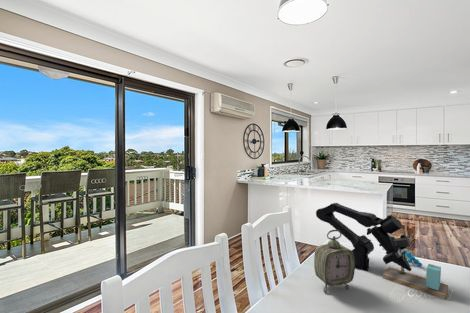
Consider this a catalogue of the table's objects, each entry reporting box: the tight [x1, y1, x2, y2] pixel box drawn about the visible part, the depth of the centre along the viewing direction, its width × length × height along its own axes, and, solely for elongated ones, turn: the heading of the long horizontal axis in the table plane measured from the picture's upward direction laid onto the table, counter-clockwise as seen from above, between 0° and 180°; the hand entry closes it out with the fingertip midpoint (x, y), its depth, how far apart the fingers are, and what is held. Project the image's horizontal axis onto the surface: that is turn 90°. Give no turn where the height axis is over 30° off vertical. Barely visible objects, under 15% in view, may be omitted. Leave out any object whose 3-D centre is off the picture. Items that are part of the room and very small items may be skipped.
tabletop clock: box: [313, 229, 356, 294], centre depth 106 cm, size 14×9×25 cm, turn 105°
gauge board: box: [382, 266, 449, 300], centre depth 110 cm, size 22×10×5 cm, turn 44°
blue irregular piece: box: [401, 248, 423, 267], centre depth 128 cm, size 11×6×10 cm
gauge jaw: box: [425, 263, 442, 290], centre depth 104 cm, size 4×7×8 cm, turn 134°
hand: (410, 270), depth 109 cm, fingers closed
